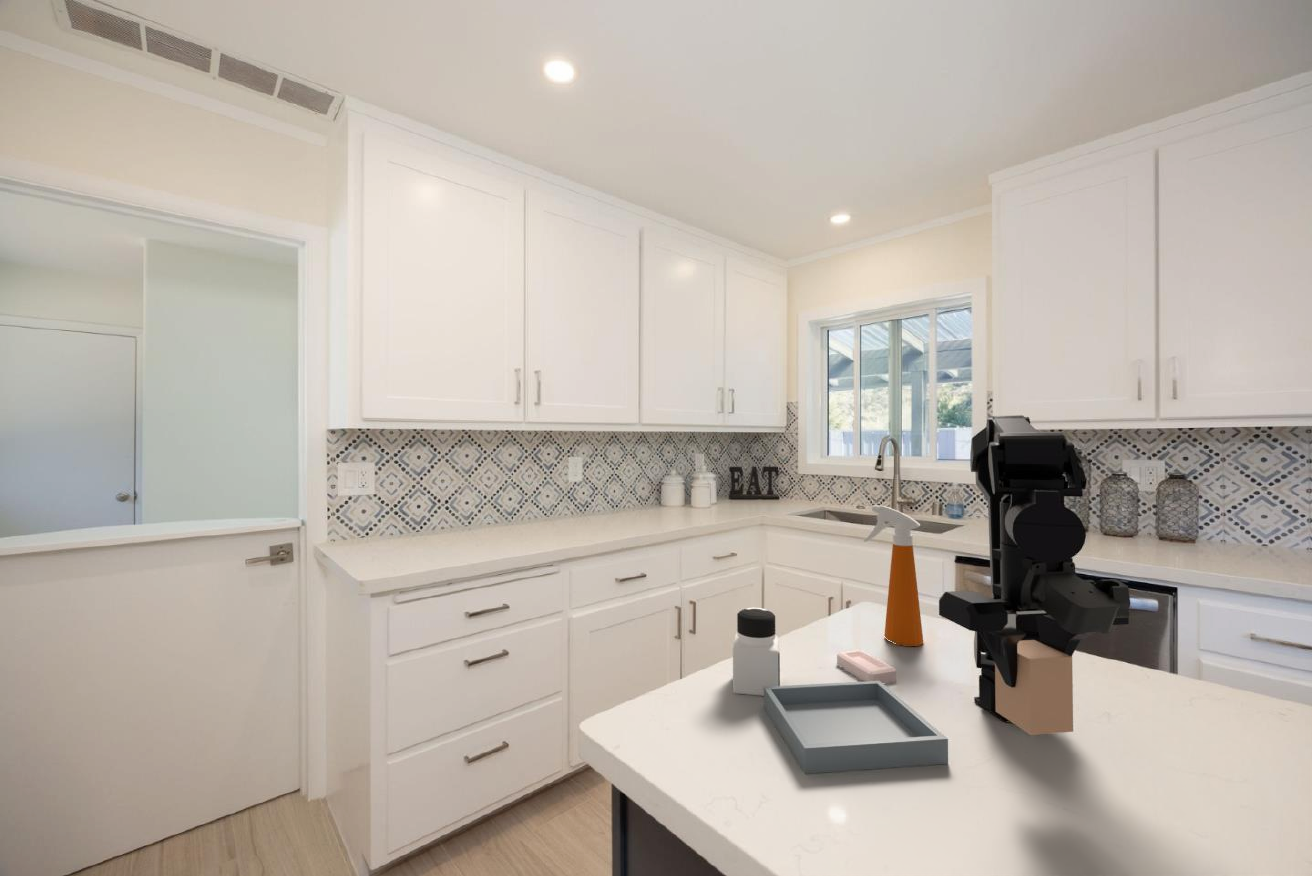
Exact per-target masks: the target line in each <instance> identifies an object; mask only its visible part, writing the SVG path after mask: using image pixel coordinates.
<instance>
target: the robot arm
mask: <svg viewBox="0 0 1312 876" xmlns="http://www.w3.org/2000/svg"><path fill="white" fill-rule="evenodd" d="M969 455H970V457H969V460H970V461H969V462H970V463H969V464H970V465H969V466H970V472H971V473H975V485H976V487H977V488H978V489H979V491H980V492H981V493H982V494H983V496H984V498H985V499H986V500H987V511H988V515H987V516H988V538H989V540H988V543H989V568H990V573H989V574H990V595H991V596H987V595H985V594H982V593H980V592H977V591H974V590H957V591H956V590H955V591H951V590H950V591H944V593H943V594H942V595H941V596H940V597H939V601H938V615H939V616H940V617H942V618H944V619H946V620H948V621H950V622H952V623H955V624H956V625H959V626H960V627H962V628H964V629H966V630H968V631H971V632H974V639H973V657H974V662H975V666H976V668H977V669H980V670H981V671H980V673H981V674H979V675H978V696H974V698H973V701H974V702H975V703H976V704H978V705H979V706H981V707H983V709H985V710H986V711H988V712H990V713H991V714H993V715H994V716H995V717H997V718H998V719H1000V720H1001V721H1003V722H1006V723H1012V722H1011V721H1009V720H1008V719H1006V718H1005V717H1003V716H1002V715H1000V714H999V713H997V712H996V699H995V664H996V666H997V668H998V670H999V672H1000V674H1001V676H1002V678H1003V680H1004V682H1005V684H1006V685H1008V686H1010V687H1015V686H1016V680H1017V644H1018V642H1019V641H1023V640H1036V641H1038V642H1040V643H1042V644H1045V645H1047V646H1049V647H1051V648H1053V649H1056V650H1058V651H1060V652H1062V653H1065V654H1067V655H1069V656H1071V657H1072V658H1073V655H1074V653H1075V652H1076V649H1077V647H1078V645H1079V644H1080V642H1081V641H1082V640H1084V639H1086V638H1088V637H1089V636H1091V635H1093V634H1097V633H1101V634H1108V633H1110V631H1111V630H1112V627H1113V626H1120V625H1123V626H1124V625H1129V624H1130V623H1129V622H1130V621H1129V619H1130V618H1129V617H1130V611H1129V609H1130V607H1131V597H1130V590H1129V586H1128V585H1126V584H1125V583H1124V582H1122V581H1120V580H1119V579H1116V578H1109V579H1107V578H1106V579H1105V578H1104V579H1100V580H1098V581H1097V582H1095V581H1094V580H1093V579H1082V578H1081V577H1079V576H1077V573H1076V563H1075V562H1074V559H1073V558H1074V557H1075V556H1077V555H1078V554H1079V553H1080V551H1081V550H1083V547H1084V546H1085V543H1086V538H1087V534H1086V533H1087V532H1086V528H1085V526H1084V524H1083V521H1082V520H1081V519H1080V517H1079V516H1078V514H1076V513H1075V512H1074V511H1073V510H1072V509H1070V508H1068V507H1066V505H1065V497H1070V498H1071V497H1073V498H1083V494H1084V491H1083V490H1085V489H1086V486H1087V477H1086V475H1085V471H1084V467H1083V464H1082V463H1083V462H1082V459H1081V455H1080V453H1079V452H1078V451H1077V450H1075V445H1074V443H1073V442H1070V441H1069V442H1068V439H1067V436H1066V434H1064V433H1063V432H1060V431H1057V432H1056V431H1055V432H1054V431H1053V432H1052V431H1050V432H1049V431H1048V432H1046V431H1044V432H1043V431H1042V432H1041V431H1040V432H1039V431H1038V430H1037V429H1036V428H1035V427H1034V426H1033V425H1032V424H1031V420H1030V417H1029V416H1024V415H1021V414H1020V415H993V416H992V417H987V419H986V424H985V427H984V428H983V429H982V430H980V431H979V432H978V433H976V434H975V435H974V436H973V437H972V438H971V443H970V454H969Z"/></svg>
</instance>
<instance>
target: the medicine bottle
mask: <svg viewBox="0 0 1312 876" xmlns="http://www.w3.org/2000/svg"><path fill="white" fill-rule="evenodd" d="M736 614H737V615H736V617H737V618H736V620H737V621H736V624H737V626H736V627H737V629H736V631H737V632H736V633H735V634H734V641H733V647H732V691H733V693H734V694H737V695H748V696H762V697H764V687H771V686H781V682H780V681H781V680H780V679H781V676H780V674H781V673H780V672H781V671H780V669H781V668H780V662H781V661H780V658H781V657H780V641H779V640H780V639H779V636H778V635H776V615H775V614H774V613H773V612H772V611H770V610H769V609H767V608H761V607H747V608H744V609H741V610H740V611H739V612H738V613H736Z"/></svg>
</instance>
